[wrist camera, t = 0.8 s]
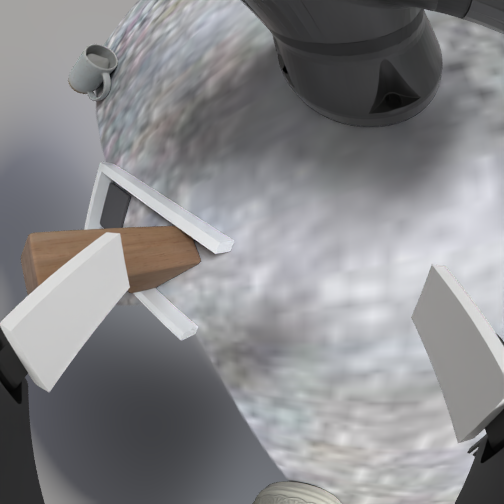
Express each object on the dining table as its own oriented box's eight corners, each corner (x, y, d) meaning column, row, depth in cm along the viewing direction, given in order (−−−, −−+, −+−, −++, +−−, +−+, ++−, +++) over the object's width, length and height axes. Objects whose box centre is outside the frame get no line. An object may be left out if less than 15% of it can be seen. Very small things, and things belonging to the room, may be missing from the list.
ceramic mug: (95, 76, 41) (65, 68, 34) (117, 49, 37) (86, 38, 30) (96, 111, 40) (62, 105, 34) (120, 84, 36) (84, 73, 30)
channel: (113, 163, 37) (100, 161, 35) (234, 240, 27) (219, 242, 25) (95, 234, 41) (82, 235, 39) (195, 333, 31) (181, 340, 29)
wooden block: (155, 288, 34) (24, 319, 18) (144, 255, 34) (14, 273, 19) (203, 261, 30) (39, 292, 14) (189, 224, 30) (27, 230, 14)
